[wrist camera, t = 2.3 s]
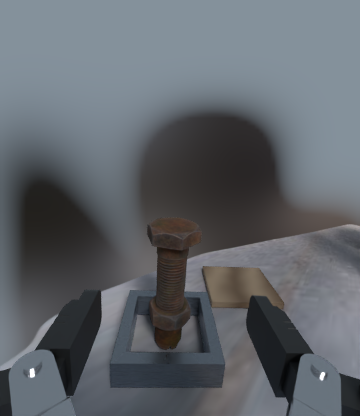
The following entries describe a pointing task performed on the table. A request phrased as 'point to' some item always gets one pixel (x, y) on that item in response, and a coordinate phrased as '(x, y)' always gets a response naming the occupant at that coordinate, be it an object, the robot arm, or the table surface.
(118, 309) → the table surface
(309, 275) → the table surface
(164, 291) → the bolt
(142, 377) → the steel collar
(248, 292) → the tan pad
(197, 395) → the table surface
